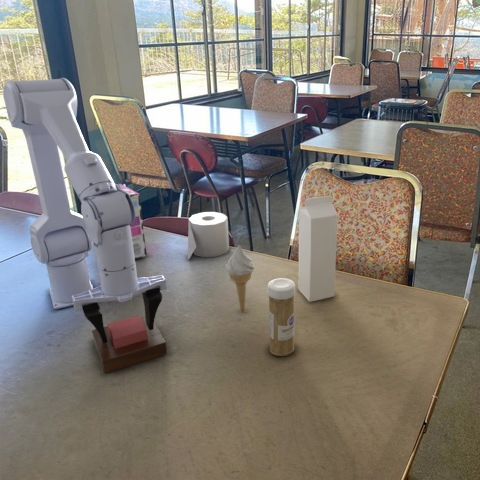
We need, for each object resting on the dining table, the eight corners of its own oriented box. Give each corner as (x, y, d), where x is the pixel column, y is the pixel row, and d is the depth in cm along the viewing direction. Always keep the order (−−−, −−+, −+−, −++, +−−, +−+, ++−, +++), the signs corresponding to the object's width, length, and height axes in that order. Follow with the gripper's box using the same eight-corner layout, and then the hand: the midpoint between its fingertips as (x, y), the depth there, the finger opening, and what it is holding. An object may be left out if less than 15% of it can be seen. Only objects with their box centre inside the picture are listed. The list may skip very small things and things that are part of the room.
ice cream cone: (250, 321, 94) (248, 251, 88) (223, 317, 95) (219, 248, 89) (259, 306, 99) (257, 239, 93) (234, 303, 100) (230, 237, 94)
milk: (298, 289, 106) (298, 194, 97) (322, 284, 108) (324, 190, 100) (309, 302, 101) (310, 203, 92) (335, 296, 103) (338, 199, 95)
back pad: (110, 344, 86) (107, 323, 84) (141, 335, 88) (138, 315, 87) (117, 360, 82) (113, 339, 80) (149, 350, 84) (146, 329, 83)
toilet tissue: (182, 262, 116) (178, 230, 113) (198, 241, 128) (196, 210, 125) (218, 265, 116) (216, 232, 112) (232, 242, 128) (230, 212, 124)
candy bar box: (148, 256, 119) (140, 193, 112) (128, 262, 116) (119, 197, 109) (129, 242, 126) (121, 182, 120) (110, 247, 123) (100, 186, 117)
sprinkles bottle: (290, 359, 83) (290, 291, 78) (265, 354, 84) (264, 287, 79) (297, 343, 87) (298, 278, 82) (273, 340, 88) (272, 275, 83)
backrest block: (93, 341, 86) (91, 330, 85) (151, 325, 92) (150, 314, 91) (104, 373, 79) (102, 361, 78) (167, 354, 84) (165, 342, 83)
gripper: (71, 284, 72) (86, 358, 77) (168, 263, 79) (175, 332, 84) (64, 266, 77) (79, 336, 83) (156, 248, 84) (164, 313, 90)
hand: (127, 333), depth 84 cm, fingers open, 7 cm apart
